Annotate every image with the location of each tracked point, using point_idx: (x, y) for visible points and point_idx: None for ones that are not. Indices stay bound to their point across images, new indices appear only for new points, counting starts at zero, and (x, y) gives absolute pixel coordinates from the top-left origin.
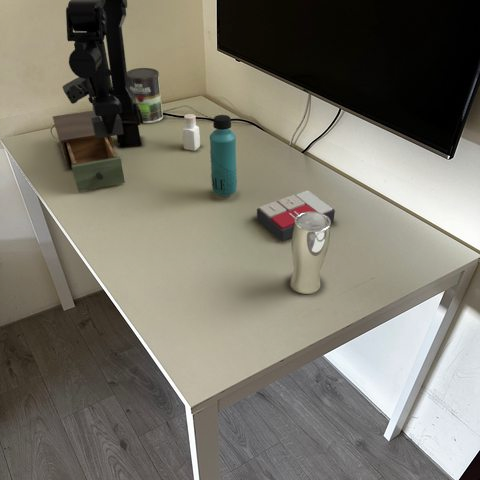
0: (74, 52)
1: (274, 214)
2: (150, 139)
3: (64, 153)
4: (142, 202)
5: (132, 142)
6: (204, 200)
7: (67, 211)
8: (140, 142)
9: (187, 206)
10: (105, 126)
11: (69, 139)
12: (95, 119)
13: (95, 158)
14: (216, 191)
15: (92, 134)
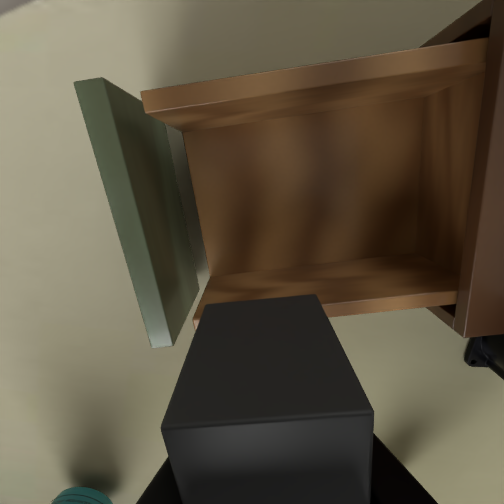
0: None
1: None
2: (499, 389)
3: (436, 37)
4: (73, 321)
5: (487, 345)
6: (73, 451)
7: (21, 65)
8: (483, 364)
9: (45, 416)
10: (153, 480)
11: (498, 63)
12: (277, 461)
13: (395, 204)
14: (56, 500)
15: (493, 238)
